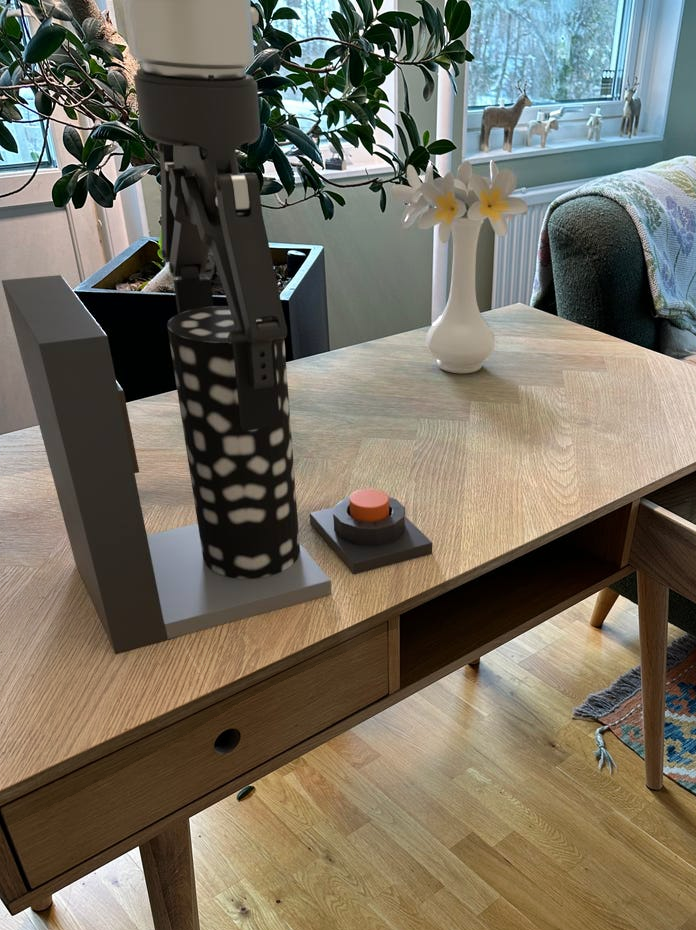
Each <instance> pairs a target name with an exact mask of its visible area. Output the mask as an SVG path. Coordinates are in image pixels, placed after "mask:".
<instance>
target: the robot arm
mask: <svg viewBox="0 0 696 930" xmlns="http://www.w3.org/2000/svg"><path fill="white" fill-rule="evenodd" d="M121 4H122V10H123V18H124V23H125V33H126V38H127V44H128V52H129V54H130V56H131V57H132V58H133V59H135V60H136V61H138V62H140V63H141V68H139V69H137V70H136V74H135V75H133V79H134V82H133V83H134V87H135V95H136V101H137V109H138V110H137V111H138V116H139V122H140V124H139V125H140V129H141V131H142V133H143V134H144V135H145V136H146V137H147V138H148V139H150V140H152V141H154V142H157V144H156V146H157V150H158V155H159V157H158V158H159V165H160V166H159V167H160V207H161V208H160V210H161V211H160V215H161V217H160V219H161V221H160V222H161V224H160V225H161V226H160V227H161V228H160V229H161V230H160V231H161V233H160V235H161V251H160V254H161V257H162V259H163V261H164V263H168V270H169V273H170V274H171V276H172V278H177V279H173V280H172V281H173V287H174V295H175V302H176V309H177V314H179V313H182V312H185V311H188V310H192V309H197V308H203V307H212V306H215V305H214V297H213V288H212V280H211V278H209V277H208V276H206V275H214V274H215V271H214V268H213V265H212V262H211V259H210V258H209V253H210V249H211V252H212V255H213V260H214V262H215V266H216V269H217V272H218V276H219V279H220V282H221V286H222V288H223V292H224V296H225V299H226V302H227V306H229V309H230V312H231V316H232V319H233V322H234V326H235V329H236V330H235V331H230V333H229V335H228V338H227V340H228V342H229V344H233V354H234V364H235V374H236V384H237V393H238V403H239V413H240V423H241V428H242V429H243V430H244V431H248V430H254V429H260V428H266V427H272V426H278V425H280V414H279V400H278V386H277V372H276V358H275V344H274V339H279V338H284V339H285V338H287V336H288V326H287V323H286V318H285V314H284V309H283V304H282V299H281V294H280V290H279V287H278V286H279V285H278V282H277V276H276V271H275V267H274V263H273V262H274V261H273V258H272V253H271V249H270V244H269V239H268V234H267V230H266V229H267V228H266V224H265V220H264V216H263V208H262V207H263V206H262V198H261V190H260V189H261V188H260V184H261V183H260V180H259V178H258V175H257V173H255V172H245V173H244V172H243V173H241V172H240V170H239V165H238V159H237V157H236V151H237V149H238V148H239V147H241V146H249V145H251V144H254V143H256V142H257V141H258V140H259V138H260V137H261V120H260V119H261V118H260V106H259V105H260V104H259V91H258V90H259V89H258V82H257V81H256V80H255V79H254V77H253V76H252V75H251V74H248V73H247V72H246V68H248V67H251V66H252V65H253V64H254V63H255V60H256V58H255V48H254V47H255V46H254V34H253V33H254V32H253V26H256V25H257V24H259V20H260V19H259V17H260V15H259V14H260V13H259V12H258V10H257V9H256V7H253V6H251V5H252V4H251V0H121ZM204 275H205V276H206V277H205V276H204ZM200 276H204V277H200ZM257 318H261V319H262V321H256V320H257Z"/></svg>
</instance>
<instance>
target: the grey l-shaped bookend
mask: <svg viewBox="0 0 696 930" xmlns="http://www.w3.org/2000/svg"><path fill="white" fill-rule="evenodd" d="M1 284H2V289H3V292H4V295H5V300H6V304H7V307H8V312H9V316H10V318H11V322H12V326H13V330H14V334H15V339H16V342H17V346H18V349H19V353H20V357H21V361H22V365H23V368H24V373H25V376H26V380H27V385H28V388H29V391H30V395H31V400H32V403H33V407H34V411H35V415H36V418H37V422H38V426H39V429H40V433H41V438H42V441H43V446H44V449H45V452H46V456H47V461H48V464H49V468H50V472H51V477H52V480H53V483H54V487H55V491H56V494H57V498H58V503H59V505H60V510H61V514H62V517H63V521H64V525H65V529H66V532H67V537H68V541H69V544H70V548H71V552H72V556H73V560H74V563H75V564H74V565H75V567H76V569H77V572H78V574H79V576H80V578H81V580H82V582H83V585H84V587H85V589H86V591H87V594H88V596H89V598H90V600H91V602H92V605H93V607H94V609H95V611H96V614H97V617H98V619H99V621H100V623H101V625H102V627H103V630H104V632H105V635H106V636H107V639H108V641H109V643H110V645H111V648H112V650H113V653H114V654H120V653H123V652H126V651H131V650H134V649H138V648H142V647H146V646H149V645H152V644H157V643H160V642H163V641H167V640H171V639H174V638H178V637H183V636H186V635H189V634H193V633H197V632H200V631H204V630H207V629H211V628H215V627H219V626H223V625H225V624H226V625H227V624H230V623H234V622H237V621H241V620H245V619H247V618H251V617H255V616H258V615H262V614H266V613H270V612H273V611H276V610H281V609H284V608H288V607H291V606H292V607H293V606H295V605H299V604H302V603H306V602H309V601H313V600H318V599H321V598H324V597H328V596H331V595H332V593H333V592H332V580H331V579H330V577H329V576H328V575H327V574H326V572H325V571H324V570H323V569H322V568H321V566H320V564H319V563H317V562H316V560H315V559H314V558H313V557H312V555H311V554H310V553H309V552H308V551H307V549H306V548H305V547H304V546H303V544H302V543H301V541H299V543H300V554H299V557H298V559H297V560H296V562H295V563H294V564H293V565H291V566H290V567H289V568H287V569H285V570H284V571H282V572H279V573H277V574H274V575H271V576H267V577H261V578H253V579H241V578H232V577H227V576H224V575H221V574H218V573H216V572H214V571H212V570H211V569H210V568H209V567H207V566H206V564H205V562H204V560H203V554H202V548H201V541H200V535H199V528H198V523H193V524H188V525H184V526H180V527H174V528H170V529H167V530H162V531H157V532H153V533H149V534H148V533H147V530H146V524H145V518H144V514H143V510H142V509H143V508H142V505H141V504H142V503H141V499H140V494H139V489H138V484H137V478H136V474H138V473H140V468H139V463H138V458H137V457H138V456H137V453H136V448H135V442H134V437H133V432H132V426H131V421H130V416H129V411H128V406H127V401H126V396H125V391H124V390H123V388H122V387H121V385H120V384H119V382H118V381H117V377H116V374H115V373H116V372H115V368H114V363H113V358H112V353H111V347H110V343H109V337H108V335H107V334H106V332H105V331H104V330H103V329H102V326H101V324H100V323H98V322H97V321H96V319H95V318H94V317H93V315H92V314H91V313H90V312H89V310H88V309H87V307H86V306H85V305H84V303H83V302H82V301H81V299H80V298H79V296H78V295H77V294H76V293H75V292H74V290H73V289H72V288H71V287H70V285H69V284H68V282H67V281H66V279H65V278H64V277H63V276H62V275H61V274H57V275H48V276H46V275H45V276H36V277H23V278H13V279H12V278H11V279H2V280H1Z"/></svg>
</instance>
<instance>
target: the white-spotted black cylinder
mask: <svg viewBox="0 0 696 930" xmlns="http://www.w3.org/2000/svg"><path fill="white" fill-rule="evenodd" d="M256 321H262V319H261V318H257V320H256ZM166 327H167V333H168V340H169V346H170V347H169V348H170V352H171V358H172V366H173V372H174V378H175V385H176V391H177V398H178V405H179V411H180V418H181V424H182V430H183V437H184V443H185V450H186V456H187V463H188V469H189V476H190V483H191V488H192V489H191V490H192V495H193V502H194V507H195V514H196V522H197V524H198V528H199V535H200V541H201V548H202V554H203V560H204V562H205V564H206V566H207V567H209V568H210V569H211V570H212V571H214V572H216V573H218V574H221V575H224V576H227V577H232V578H241V579H253V578H261V577H267V576H271V575H274V574H277V573H279V572H282V571H284V570H285V569H287V568H289V567H290V566H291V565H293V564H294V563H295V562H296V560H297V559H298V557H299V554H300V543H301V542H300V533H299V531H300V530H299V519H298V518H299V517H298V505H297V503H298V502H297V491H296V477H295V464H294V463H295V462H294V449H293V437H292V436H293V435H292V425H291V409H290V398H289V396H290V395H289V383H288V371H287V369H288V368H287V356H286V345H285V338H279V339H274V344H275V358H276V372H277V386H278V400H279V414H280V425H278V426H272V427H266V428H260V429H254V430H248V431H244V430H243V429H242V428H241V423H240V413H239V403H238V393H237V384H236V374H235V364H234V354H233V344H229V342H228V340H227V338H228V335H229V333H230V331H235V330H236V329H235V326H234V322H233V319H232V316H231V312H230V309H229V306H228V305H214V306H212V307H203V308H197V309H192V310H188V311H185V312H182V313H179V314H178V313H177V314H175V315H174V316H172V317H171V318H170V319H169V320H168V321H167V323H166ZM299 542H300V543H299Z"/></svg>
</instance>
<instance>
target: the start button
mask: <svg viewBox="0 0 696 930" xmlns="http://www.w3.org/2000/svg"><path fill="white" fill-rule="evenodd" d="M349 497H350V516H351V518H352V519H355V520H358V521H361V522H377V521H381V520H385V519H386V518H388V516H389V497H390V496H389V495H388V494H387V493H386V492H384V491H382V490H379V489H375V488H374V489H373V488H364V489H359V490H357V491H354V492H353V493H352V494H351V495H350V496H349Z"/></svg>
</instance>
